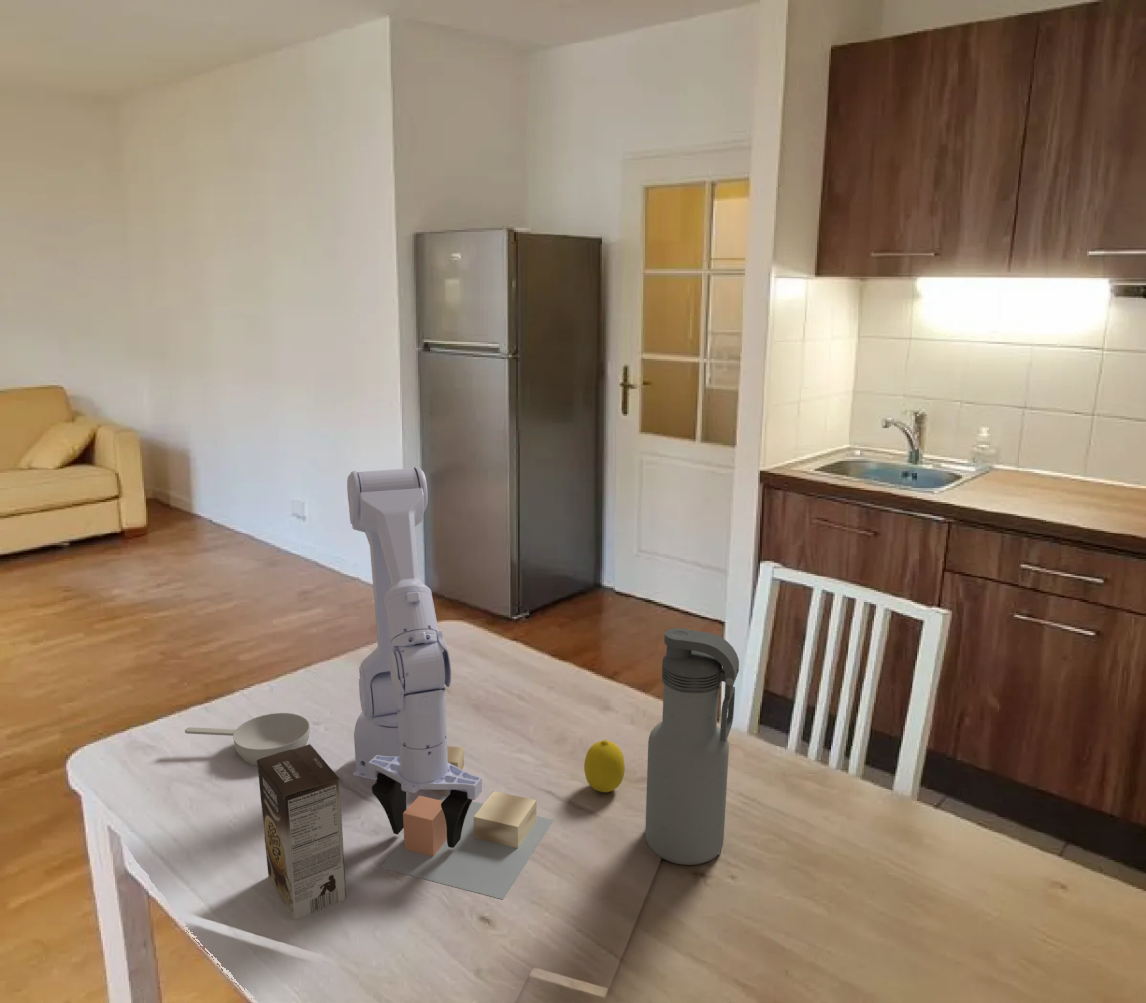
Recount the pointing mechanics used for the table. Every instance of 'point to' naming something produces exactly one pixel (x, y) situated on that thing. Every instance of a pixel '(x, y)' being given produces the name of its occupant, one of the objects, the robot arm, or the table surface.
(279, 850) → the coffee box
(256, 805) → the table surface
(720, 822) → the water bottle
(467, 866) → the board
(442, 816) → the terracotta block
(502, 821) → the block
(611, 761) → the lemon
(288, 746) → the small pan
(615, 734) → the table surface
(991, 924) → the table surface
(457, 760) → the birch block
